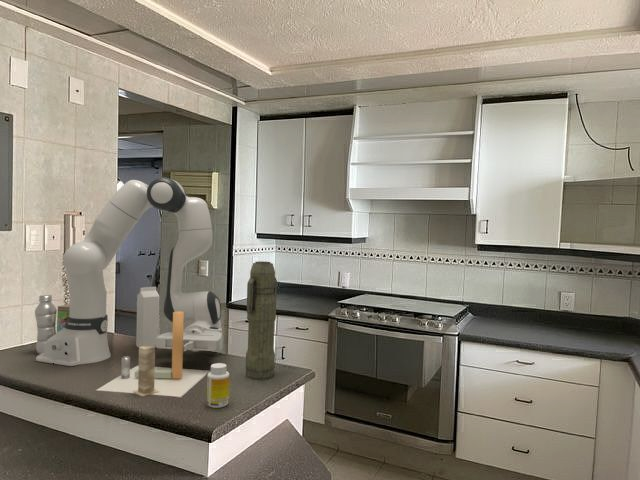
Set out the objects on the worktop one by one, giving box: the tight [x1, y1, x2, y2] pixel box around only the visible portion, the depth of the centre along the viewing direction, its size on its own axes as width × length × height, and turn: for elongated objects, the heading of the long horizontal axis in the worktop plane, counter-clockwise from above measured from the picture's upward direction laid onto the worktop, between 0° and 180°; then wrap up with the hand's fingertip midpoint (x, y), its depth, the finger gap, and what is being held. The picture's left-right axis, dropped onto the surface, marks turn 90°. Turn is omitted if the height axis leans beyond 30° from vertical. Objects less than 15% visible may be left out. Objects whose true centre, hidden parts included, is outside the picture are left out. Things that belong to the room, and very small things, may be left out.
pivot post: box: [120, 355, 131, 379], centre depth 140 cm, size 2×2×6 cm
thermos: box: [245, 260, 278, 381], centre depth 147 cm, size 9×12×35 cm
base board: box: [96, 365, 211, 399], centre depth 139 cm, size 24×22×1 cm
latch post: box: [132, 345, 160, 398], centre depth 129 cm, size 5×5×13 cm
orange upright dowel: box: [135, 311, 185, 378], centre depth 140 cm, size 14×3×19 cm, turn 91°
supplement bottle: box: [206, 362, 230, 409], centre depth 123 cm, size 6×6×10 cm
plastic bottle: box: [34, 294, 58, 355], centre depth 163 cm, size 6×7×20 cm
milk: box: [135, 286, 160, 349], centre depth 175 cm, size 6×6×22 cm
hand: (180, 348), depth 142 cm, fingers closed, pressing on orange upright dowel
